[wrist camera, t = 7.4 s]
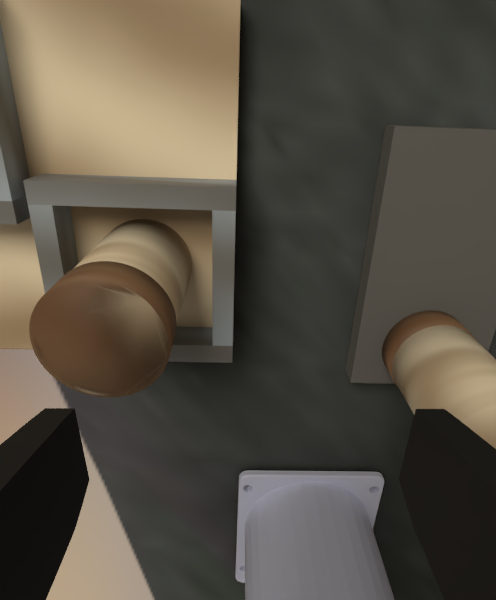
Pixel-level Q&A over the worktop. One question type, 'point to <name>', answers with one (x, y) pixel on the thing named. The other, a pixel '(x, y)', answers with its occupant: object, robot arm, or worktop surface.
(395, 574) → the worktop surface
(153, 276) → the sleeve band up
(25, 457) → the robot arm
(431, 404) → the sleeve band down
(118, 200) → the socket board
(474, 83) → the worktop surface
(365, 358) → the pad
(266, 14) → the worktop surface
